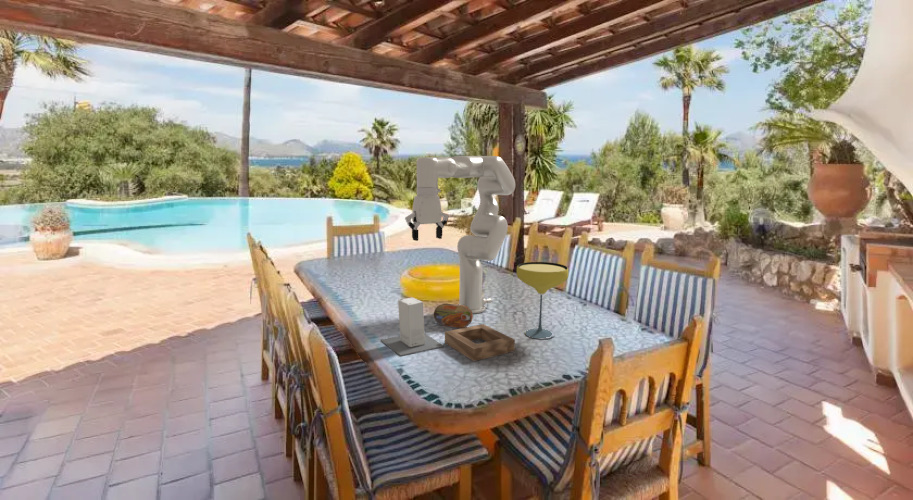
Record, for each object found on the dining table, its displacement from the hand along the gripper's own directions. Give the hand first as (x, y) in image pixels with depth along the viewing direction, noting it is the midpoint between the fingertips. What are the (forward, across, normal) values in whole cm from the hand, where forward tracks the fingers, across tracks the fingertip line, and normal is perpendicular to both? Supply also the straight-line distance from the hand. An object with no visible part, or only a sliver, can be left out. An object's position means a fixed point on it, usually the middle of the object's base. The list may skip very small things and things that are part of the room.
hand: (427, 239), depth 173 cm
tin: (+34, -9, +4) cm, 35 cm away
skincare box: (+33, +13, +13) cm, 38 cm away
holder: (+33, -5, +27) cm, 43 cm away
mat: (+33, +13, +13) cm, 38 cm away
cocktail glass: (+34, -31, +28) cm, 54 cm away
